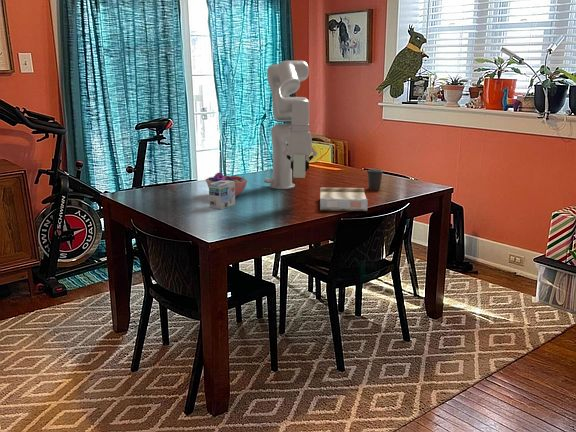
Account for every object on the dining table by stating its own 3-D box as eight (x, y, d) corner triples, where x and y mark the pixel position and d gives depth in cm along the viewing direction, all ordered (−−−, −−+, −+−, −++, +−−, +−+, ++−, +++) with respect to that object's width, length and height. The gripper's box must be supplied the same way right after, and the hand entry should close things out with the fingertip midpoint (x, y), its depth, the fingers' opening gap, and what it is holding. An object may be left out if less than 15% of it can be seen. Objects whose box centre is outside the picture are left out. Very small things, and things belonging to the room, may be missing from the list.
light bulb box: (221, 209, 248) (220, 185, 245) (208, 207, 252) (208, 183, 249) (236, 204, 257) (235, 180, 254) (224, 202, 260) (223, 179, 258)
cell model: (238, 202, 261) (237, 177, 258) (199, 198, 267) (198, 174, 264) (253, 194, 276) (253, 171, 273) (215, 191, 283) (215, 168, 280)
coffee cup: (372, 186, 293) (373, 167, 290) (385, 189, 287) (386, 169, 285) (362, 188, 287) (363, 169, 285) (375, 191, 282) (376, 171, 279)
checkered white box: (320, 211, 246) (320, 198, 244) (320, 199, 267) (320, 187, 265) (367, 211, 245) (367, 199, 243) (363, 199, 266) (364, 188, 264)
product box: (293, 177, 248) (293, 154, 245) (294, 173, 255) (294, 151, 253) (305, 177, 248) (305, 154, 245) (305, 173, 255) (306, 151, 252)
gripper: (279, 129, 242) (279, 171, 248) (320, 130, 242) (319, 172, 247) (280, 127, 250) (280, 168, 255) (320, 127, 249) (319, 168, 254)
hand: (299, 169), depth 251 cm, fingers closed on product box, 5 cm apart
